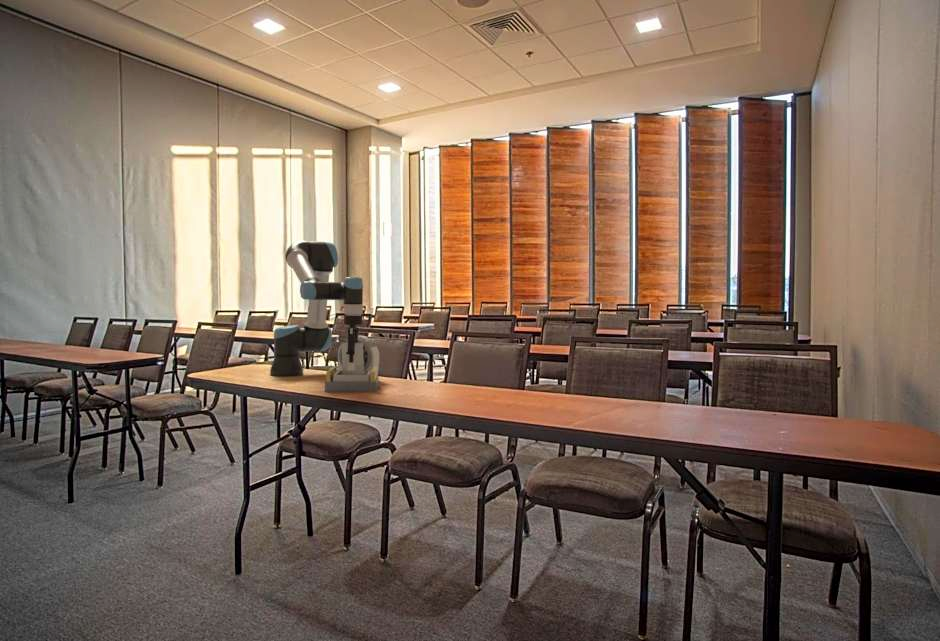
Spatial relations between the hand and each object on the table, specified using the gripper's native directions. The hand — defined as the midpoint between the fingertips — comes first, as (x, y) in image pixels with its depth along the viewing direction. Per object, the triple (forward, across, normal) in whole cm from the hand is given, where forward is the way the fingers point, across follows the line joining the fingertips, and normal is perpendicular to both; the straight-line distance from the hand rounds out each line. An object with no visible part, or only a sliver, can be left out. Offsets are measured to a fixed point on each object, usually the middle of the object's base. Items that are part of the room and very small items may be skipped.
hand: (352, 368), depth 234 cm
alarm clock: (+8, -24, 0) cm, 25 cm away
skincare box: (+4, 0, 0) cm, 4 cm away
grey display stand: (+9, 0, 0) cm, 9 cm away
